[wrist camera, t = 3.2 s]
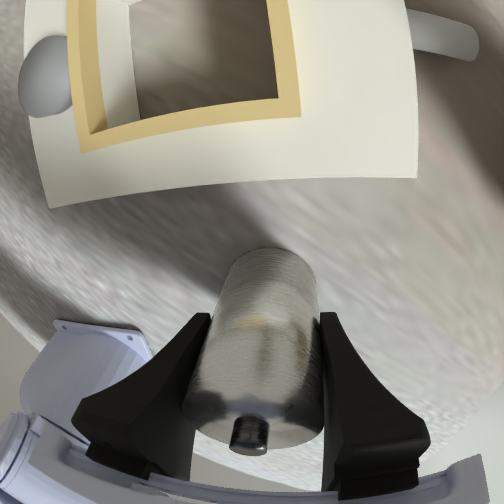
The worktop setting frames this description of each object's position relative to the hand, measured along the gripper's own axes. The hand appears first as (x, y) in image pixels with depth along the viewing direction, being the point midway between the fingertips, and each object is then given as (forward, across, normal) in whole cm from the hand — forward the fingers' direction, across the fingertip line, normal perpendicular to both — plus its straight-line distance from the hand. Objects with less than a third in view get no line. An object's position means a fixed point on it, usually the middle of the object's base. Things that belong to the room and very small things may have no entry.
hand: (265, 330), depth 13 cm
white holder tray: (+3, 0, -12) cm, 13 cm away
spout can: (+3, 0, 0) cm, 3 cm away
